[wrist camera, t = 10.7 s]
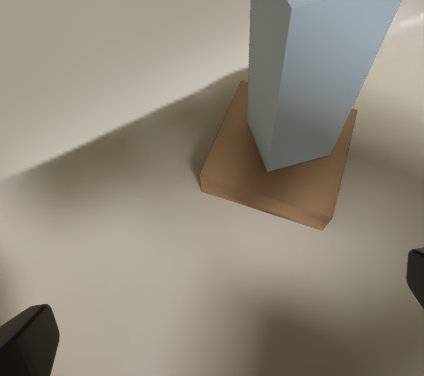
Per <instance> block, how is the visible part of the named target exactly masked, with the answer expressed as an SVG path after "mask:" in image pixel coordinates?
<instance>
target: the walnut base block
mask: <svg viewBox="0 0 424 376" xmlns="http://www.w3.org/2000/svg"><path fill="white" fill-rule="evenodd" d="M247 109H248V82H244V81H241V83H240V85H239V87H238V90H237V92H236V94H235V96H234V99H233V101H232V103H231V105H230V108H229V110H228V112H227V114H226V117H225V119H224V121H223V123H222V126H221V128H220V130H219V132H218V135H217V137H216V139H215V141H214V144H213V146H212V148H211V150H210V153H209V155H208V157H207V159H206V161H205V164H204V166H203V168H202V170H201V173H200V175H199V176H200V183H201V190H202V192H205V193H208V194H211V195H214V196H217V197H220V198H223V199H226V200H230V201H233V202H236V203H239V204H242V205H245V206H248V207H251V208H254V209H257V210H260V211H263V212H266V213H270V214H273V215H276V216H279V217H282V218H285V219H288V220H291V221H294V222H297V223H300V224H303V225H306V226H310V227H313V228H316V229H319V230H323V229H324V228H325V226H326V225H327V224H328V223H329V221H330V220H331V219H332V217H333V214H334V209H335V205H336V201H337V196H338V192H339V188H340V183H341V179H342V175H343V170H344V166H345V162H346V158H347V153H348V149H349V145H350V140H351V136H352V132H353V127H354V123H355V119H356V114H357V110H355V109H351V111H350V113H349V116H348V118H347V120H346V122H345V124H344V126H343V128H342V131H341V133H340V135H339V137H338V139H337V141H336V144H335V146H334V148H333V150H332V152H331V154H330V155H328V156H324V157H321V158H317V159H313V160H309V161H306V162H302V163H298V164H295V165H291V166H287V167H283V168H280V169H276V170H272V171H269V172H267V170H266V168H265V165H264V163H263V160H262V158H261V155H260V152H259V150H258V147H257V145H256V142H255V139H254V137H253V134H252V132H251V129H250V127H249V124H248V121H247Z"/></svg>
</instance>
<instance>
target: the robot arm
mask: <svg viewBox="0 0 424 376" xmlns="http://www.w3.org/2000/svg"><path fill="white" fill-rule="evenodd" d="M406 278H407V283H408V286H409V288H410V290H411V291H412V292H413V294H414V295H415V297H416V298H417V300H418V301H419V303H420V304H421V306H422V307H423V309H424V248H418V249H412V250H411V251H410V252H409V254H408V262H407V276H406ZM58 343H59V329H58V326H57V323H56V320H55V317H54V314H53V311H52V309H51V307H50V306H49V305H47V304H42V305H35V306H31V307H29V308H27V309H26V310H24V311H23V312H21V313H20V314H18V315H17V316H15V317H14V318H12V319H11V320H9V321H8V322H6V323H5V324H3V325H2V326H0V376H50V374H51V370H52V367H53V363H54V359H55V355H56V351H57V347H58Z"/></svg>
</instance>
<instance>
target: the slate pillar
mask: <svg viewBox="0 0 424 376" xmlns="http://www.w3.org/2000/svg"><path fill="white" fill-rule="evenodd" d="M401 1H402V0H251V10H250V43H249V76H248V109H247V121H248V124H249V127H250V129H251V132H252V134H253V137H254V139H255V142H256V145H257V147H258V150H259V152H260V155H261V158H262V160H263V163H264V165H265V168H266V170H267V172H269V171H272V170H276V169H280V168H283V167H287V166H291V165H295V164H298V163H302V162H306V161H309V160H313V159H317V158H321V157H324V156H328V155H330V154H331V152H332V150H333V148H334V146H335V144H336V141H337V139H338V137H339V135H340V133H341V131H342V128H343V126H344V124H345V122H346V120H347V118H348V116H349V113H350V111H351V109H352V107H353V105H354V103H355V100H356V98H357V96H358V94H359V92H360V90H361V88H362V85H363V83H364V81H365V79H366V77H367V75H368V72H369V70H370V68H371V66H372V64H373V62H374V59H375V57H376V55H377V53H378V51H379V49H380V47H381V44H382V42H383V40H384V38H385V36H386V34H387V31H388V29H389V27H390V25H391V23H392V21H393V18H394V16H395V14H396V12H397V10H398V8H399V5H400V3H401Z"/></svg>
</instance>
